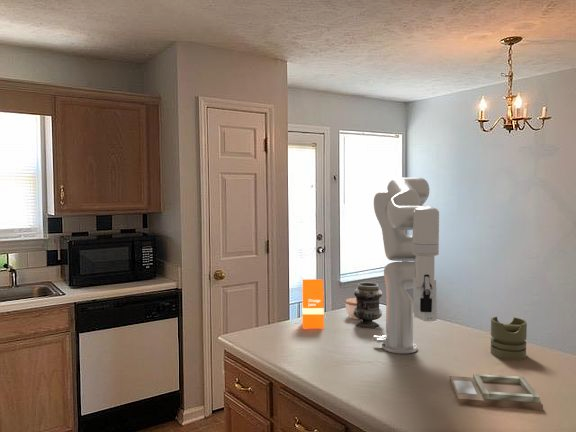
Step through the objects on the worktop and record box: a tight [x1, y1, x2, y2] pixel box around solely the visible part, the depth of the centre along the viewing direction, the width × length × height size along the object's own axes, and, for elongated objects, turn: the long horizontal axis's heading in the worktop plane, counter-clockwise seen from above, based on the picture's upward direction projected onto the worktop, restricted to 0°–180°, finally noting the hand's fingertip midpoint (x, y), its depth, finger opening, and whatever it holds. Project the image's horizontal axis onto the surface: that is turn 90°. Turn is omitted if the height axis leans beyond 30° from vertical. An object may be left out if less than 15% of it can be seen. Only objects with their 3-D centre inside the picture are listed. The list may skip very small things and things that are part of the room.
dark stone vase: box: [353, 281, 383, 330], centre depth 203 cm, size 12×12×18 cm
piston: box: [490, 316, 528, 361], centre depth 167 cm, size 11×12×11 cm
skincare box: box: [412, 278, 438, 323], centre depth 143 cm, size 6×4×12 cm
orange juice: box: [301, 278, 325, 329], centre depth 204 cm, size 8×9×20 cm
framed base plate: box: [449, 373, 544, 411], centre depth 134 cm, size 21×16×3 cm
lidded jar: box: [344, 296, 360, 320], centre depth 217 cm, size 11×11×9 cm
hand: (424, 308), depth 143 cm, fingers closed on skincare box, 7 cm apart
